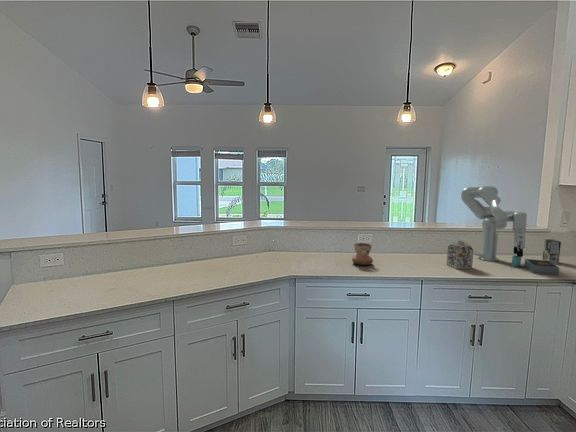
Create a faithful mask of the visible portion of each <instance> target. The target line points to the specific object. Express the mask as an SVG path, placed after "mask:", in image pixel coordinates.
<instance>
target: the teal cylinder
mask: <svg viewBox="0 0 576 432" xmlns="http://www.w3.org/2000/svg"><path fill="white" fill-rule="evenodd" d="M511 258H512V259H511V265H510V266H511V267H512V268H520V267H521V262H522V257H518V256H517V255H516V254H514V255H512V257H511Z"/></svg>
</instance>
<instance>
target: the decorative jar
mask: <svg viewBox="0 0 576 432" xmlns="http://www.w3.org/2000/svg"><path fill="white" fill-rule="evenodd" d="M473 262H474V249H473V247H472V245H471V244H468V243H466V242H465V241H464V240H457V241H456V242H452V243H450V244H449V245H448V246H447V256H446V265H447V266H449V267H451V268H453V269H455V270H472V269H473Z"/></svg>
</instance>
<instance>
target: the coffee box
mask: <svg viewBox="0 0 576 432" xmlns="http://www.w3.org/2000/svg"><path fill="white" fill-rule="evenodd" d="M561 245H562V241H560V240H556V239H550V238H549V239H547V238H545V239H544V240H543V248H542V249H543V253H542V260H545V261H551V262H552V263H553V264H555V265H559V263H560V254H561Z"/></svg>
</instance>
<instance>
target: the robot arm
mask: <svg viewBox="0 0 576 432" xmlns="http://www.w3.org/2000/svg"><path fill="white" fill-rule="evenodd" d="M498 195H499V191H498V189H497V188H496V186H490V185H489V186H470V187H465V188H463V189H462V190H461V195H460V196H461V200H462V202H463V203H464V204H465V206H466V207H467V208H468V209H469V210H470V211H471V212H472V214H474V216H475V217H476V218H477V219H479V220H483V221H482V223H481V224H482V225H481V226H482V243H481V252H473V256H477V257H478V259H480V260H483V261H486V262H487V261H488V262H497V261H498V262H499V258H498V257H497V251H498V240H499V237H498V236H499V235H498V230H505V228H507V225H508V223H512V233H513V242H512V243H513V254H514V255H516V256H518V257H521V258H524V248H526V235H525V234H527V220H528V219H527V218H528V215H527V213H526V212H524V211H523V212H522V211H518V212H517V211H513V210H509V211H508V210H507V211H506V210H505V211H504V210H503V209H501V207H500V206H499V205H500V204H501V201H502V200H501V198H500V197H499V196H498ZM479 198H481V200H482V201H484V202H485V203H486V204H487V205H488V206H485V205H483V204H482V203H481V202H480V201H479V200H478V199H479Z"/></svg>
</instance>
